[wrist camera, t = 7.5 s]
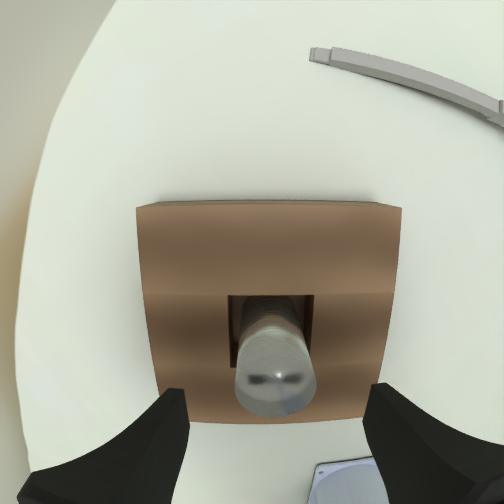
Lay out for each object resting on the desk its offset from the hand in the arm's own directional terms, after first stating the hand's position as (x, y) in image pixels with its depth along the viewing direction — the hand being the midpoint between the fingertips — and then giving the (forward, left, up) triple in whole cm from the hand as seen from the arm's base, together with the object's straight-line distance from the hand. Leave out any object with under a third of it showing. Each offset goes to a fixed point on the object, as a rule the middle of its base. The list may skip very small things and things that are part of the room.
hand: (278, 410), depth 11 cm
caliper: (+15, -13, -11) cm, 23 cm away
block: (0, 0, -10) cm, 10 cm away
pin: (0, 0, -9) cm, 9 cm away
